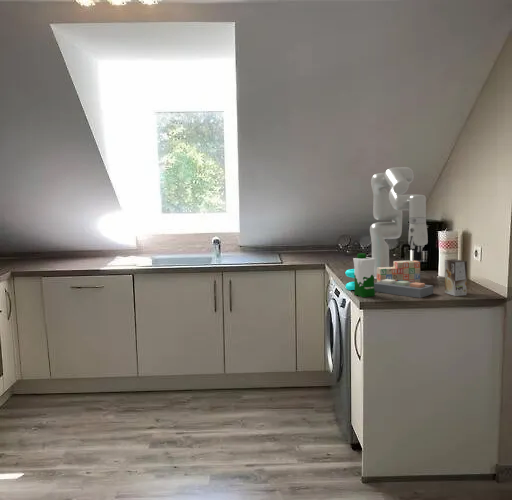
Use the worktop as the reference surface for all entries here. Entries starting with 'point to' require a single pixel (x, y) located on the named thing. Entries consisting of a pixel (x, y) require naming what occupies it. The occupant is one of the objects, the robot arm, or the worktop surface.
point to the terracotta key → (417, 285)
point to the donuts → (351, 274)
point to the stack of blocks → (400, 271)
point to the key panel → (403, 289)
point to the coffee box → (456, 277)
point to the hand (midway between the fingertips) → (417, 260)
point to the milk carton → (364, 275)
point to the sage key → (402, 283)
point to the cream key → (388, 281)
